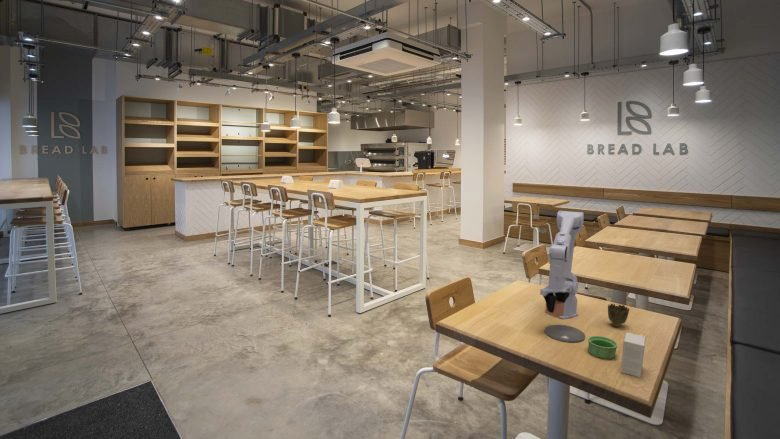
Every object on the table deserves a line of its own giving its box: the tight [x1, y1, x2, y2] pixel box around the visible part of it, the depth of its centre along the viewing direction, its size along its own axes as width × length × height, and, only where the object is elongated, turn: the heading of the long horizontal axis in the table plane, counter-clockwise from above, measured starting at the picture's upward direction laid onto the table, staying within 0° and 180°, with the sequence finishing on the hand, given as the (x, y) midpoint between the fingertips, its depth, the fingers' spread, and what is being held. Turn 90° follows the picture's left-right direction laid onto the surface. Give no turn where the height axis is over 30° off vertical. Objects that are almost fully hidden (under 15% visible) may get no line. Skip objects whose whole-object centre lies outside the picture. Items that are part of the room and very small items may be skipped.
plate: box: [544, 324, 586, 344], centre depth 153 cm, size 14×14×1 cm
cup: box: [607, 303, 630, 328], centre depth 160 cm, size 8×7×8 cm
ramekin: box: [587, 335, 618, 360], centre depth 138 cm, size 9×9×4 cm
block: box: [544, 300, 564, 318], centre depth 154 cm, size 4×5×5 cm
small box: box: [620, 332, 647, 378], centre depth 127 cm, size 8×6×10 cm
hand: (554, 310), depth 154 cm, fingers closed on block, 4 cm apart
